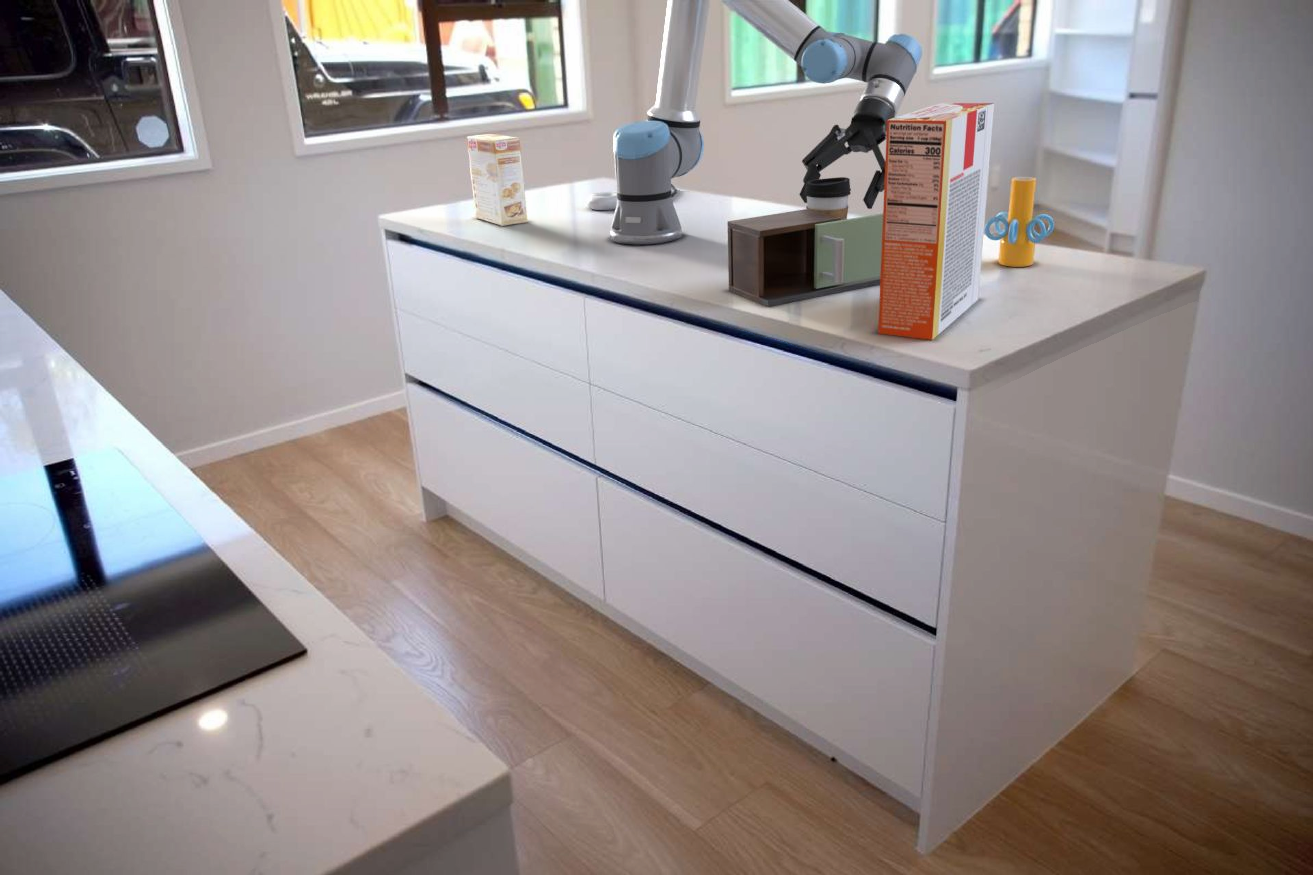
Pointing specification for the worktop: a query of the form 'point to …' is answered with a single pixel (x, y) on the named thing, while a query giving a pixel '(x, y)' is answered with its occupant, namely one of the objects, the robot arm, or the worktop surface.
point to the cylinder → (1019, 225)
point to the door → (848, 250)
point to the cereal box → (933, 216)
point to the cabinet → (779, 258)
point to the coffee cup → (828, 196)
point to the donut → (602, 201)
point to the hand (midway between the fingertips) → (834, 201)
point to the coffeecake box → (497, 178)
